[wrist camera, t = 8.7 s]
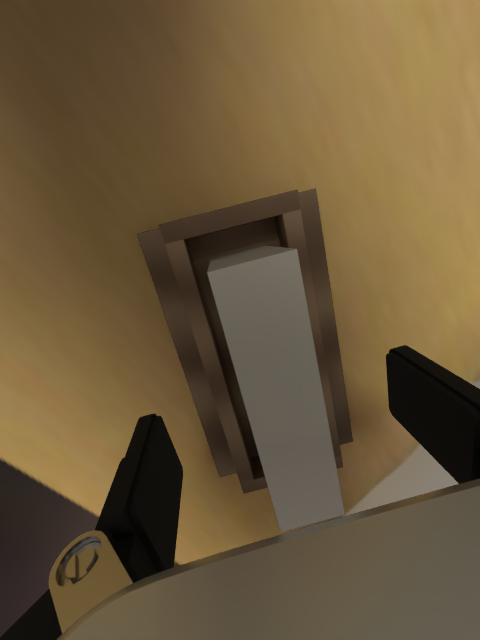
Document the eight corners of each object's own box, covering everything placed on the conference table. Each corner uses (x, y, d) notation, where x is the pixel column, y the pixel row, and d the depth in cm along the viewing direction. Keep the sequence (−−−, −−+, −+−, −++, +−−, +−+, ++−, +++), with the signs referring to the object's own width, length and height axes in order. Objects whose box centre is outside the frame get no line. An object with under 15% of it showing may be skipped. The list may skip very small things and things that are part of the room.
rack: (141, 234, 17) (126, 233, 14) (310, 191, 17) (329, 181, 14) (219, 467, 23) (220, 500, 20) (347, 432, 23) (366, 460, 20)
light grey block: (210, 259, 17) (206, 272, 10) (264, 245, 17) (297, 248, 10) (260, 439, 21) (280, 532, 14) (303, 427, 21) (344, 514, 14)
